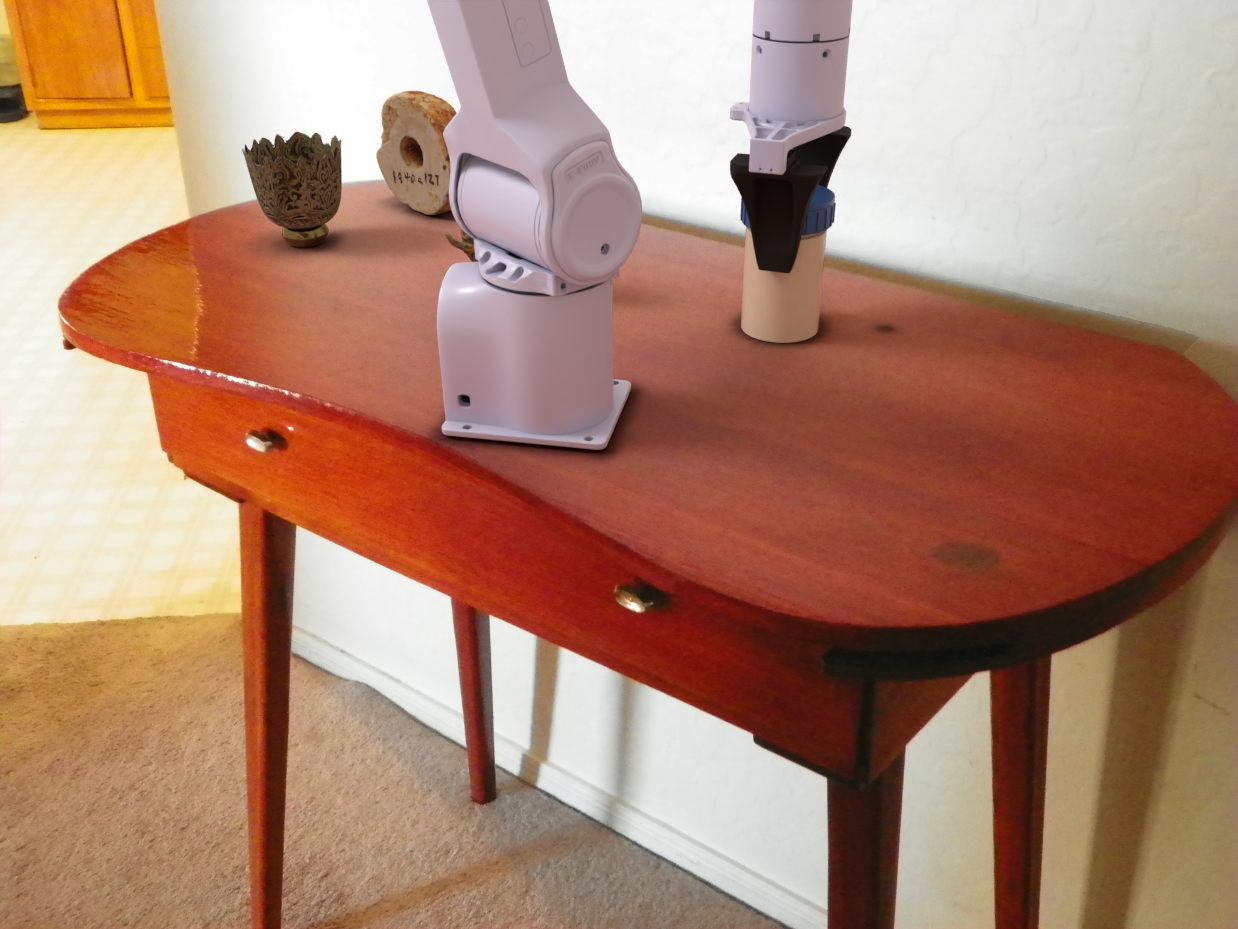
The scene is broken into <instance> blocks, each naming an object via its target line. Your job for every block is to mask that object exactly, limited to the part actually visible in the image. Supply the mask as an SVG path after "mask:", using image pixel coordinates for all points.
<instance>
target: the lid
mask: <svg viewBox="0 0 1238 929" xmlns="http://www.w3.org/2000/svg"><path fill="white" fill-rule="evenodd" d="M740 197H741V196H740ZM836 204H837V203H836V194H835V192H834V191H833V190H832V189H830V188H828V187H827V188H826V187H824V186H821V185H818V186H817V188H816V190H815V192H814V194H813V197H812V199H811V202H810V205H809V208H808V211H807V214H806V218H805V222H804V226H803V231H802V236H804V235H811V234H816V233H820V232H823V231H825V230H827V231H828V230H829V229H830V228H831V227H832V226H833V224H834V223H835V216H836V215H835V214H836V206H837V205H836ZM739 216H740V218H739V220H740V221H741V223H742V224H743V226H745V228H746V227H748V228H750V224H749V219H748V215H747V211H746V208H745V205H744V202H743V200H742V197H741V198H740V215H739Z"/></svg>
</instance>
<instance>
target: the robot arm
mask: <svg viewBox="0 0 1238 929" xmlns="http://www.w3.org/2000/svg"><path fill="white" fill-rule="evenodd" d="M853 1H854V0H753V11H752V12H753V14H752V15H753V16H752V34H751V35H752V36H751V56H750V57H751V58H750V81H749V100H748V101H749V102H748V101H747V102H746V101H745V102H744V101H739V102H735V103H734V104H733V105H732V106H731V107H730V109H729V119H730V120H732V121H739V122H744V123H745V124H746V127H747V130H748V133H749V136H750V140H749V153H741V152H740V153H739V152H737V153H736V154H735V155H734V156H733V157H732V158H731V160H730V161H729V173H730V177H731V179H732V182H733V183H734V185H735V186H736V189H737V190H738V193H739V195H740V197H742V200H743V202H744V205H745V208H746V211H747V215H748V219H749V224H750V229H751V234H752V240H753V246H754V252H755V257H756V261H757V265H758V269H759V270H763V271H772V272H780V273H790V272H791V270H792V268H793V266H794V263H795V260H796V257H797V254H798V250H799V245H800V241H801V236H802V231H803V226H804V222H805V218H806V214H807V211H808V208H809V205H810V202H811V199H812V197H813V194H814V192H815V190H816V188H817V186H818V185H821V186H824V187H826V188H828V187H829V183H830V181H831V178H832V174H833V173H834V170H835V167H836V165H837V162H838V160H839V158H840V156H841V154H842V152H843V150H844V149H845V147H846V145H847V143H848V142H849V140H850V138H851V137H852V128H851V127H850V126H846V120H847V109H846V108H845V107H844V104H845V94H846V92H845V91H846V81H847V70H848V58H849V49H850V48H849V46H850V36H851V23H852V13H853V3H854V2H853ZM426 2H427V5H428V9H429V12H430V14H431V17H432V22H433V24H434V27H435V30H436V33H437V36H438V40H439V43H440V45H441V48H442V52H443V55H444V58H445V61H446V64H447V67H448V71H449V74H450V77H451V80H452V84H453V86H454V89H455V93H456V95H457V96H456V97H457V98H458V101H459V105H460V108H459V109H458V110H457V111H456V115H455V116H454V117H453V118H452V120H451V121H450V122H449V124H448V125H447V126H446V128H445V130H444V132H443V137H444V140H445V143H446V146H447V149H448V153H449V157H450V167H451V172H450V182H449V202H450V207H451V210H450V211H451V214H452V216H453V218H454V220H455V222H456V223H457V225H458V226H459V227H460V230H461V229H462V230H463V231H464V232H465V233H466V234H467V235H469V236H470V237H472V238H474V248H475V259H476V260H478V261H479V262H472V261H461V262H455V263H453V264H451V265H450V267H449V268H448V269H447V271H446V272H445V275H444V277H443V278H442V282H441V285H440V288H439V292H438V299H437V310H436V336H437V345H438V347H437V348H438V356H439V365H440V366H439V368H440V376H441V387H442V398H443V407H444V418H445V421H444V422H443V423H442V425H441V433H442V434H443V435H445V436H448V437H458V438H469V439H479V440H489V441H490V440H491V441H500V442H509V443H522V444H532V445H541V446H553V447H562V448H563V447H564V448H571V449H572V448H574V449H582V450H583V449H584V450H592V451H593V450H594V451H601V450H604V449H606V447H607V446H608V445H609V441H610V440H611V437H612V435H613V433H614V430H615V428H616V425H617V423H618V420H619V418H620V417H621V414H622V411H623V409H624V407H625V404H626V403H627V400H628V398H629V396H630V393H631V390H632V383H631V382H630V381H628V380H625V379H616V378H614V377H615V376H614V374H615V373H614V293H613V292H614V291H613V289H614V286H613V285H614V284H613V283H614V282H613V280H615V279H617V278H619V277H620V276H621V273H620V272H621V268H622V267H623V266H624V264H625V263H626V262H627V260H628V259H629V258H630V256H631V254H632V253H633V251H634V249H635V247H636V245H637V242H638V239H639V236H640V233H641V227H642V222H643V202H642V197H641V193H640V190H639V187H638V185H637V183H636V181H635V179H634V178H633V177H632V175H631V174H630V173H629V172H628V171H627V170H626V169H625V168H624V167H623V165H622V163H621V162H620V160H618V157H617V154H616V151H615V149H614V145H613V141H612V137H611V133H610V130H609V129H608V127H607V126H606V125H605V123H604V122H603V121H602V120H601V118H600V117H599V116H598V115H597V114H596V113H595V111H593V110H592V108H591V107H590V106H589V105H588V104H587V102H585V100H584V99H583V98H582V97H581V95H580V94H578V92H577V91H576V89H575V88H574V87H573V86H572V85H571V83H570V81H569V77H568V74H567V69H566V66H565V62H564V58H563V53H562V49H561V46H560V42H559V38H558V34H557V31H556V26H555V22H554V18H553V15H552V12H551V11H552V10H551V7H550V2H549V0H426Z"/></svg>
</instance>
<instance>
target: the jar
mask: <svg viewBox="0 0 1238 929" xmlns="http://www.w3.org/2000/svg"><path fill="white" fill-rule="evenodd" d="M827 235H828V229H827V230H825V231H823V232H820V233H816V234H811V235H804V236H801V241H800V245H799V250H798V254H797V257H796V260H795V263H794V266H793V268H792V270H791V272H790V273H780V272H772V271H763V270H759V269H758V265H757V261H756V257H755V252H754V246H753V240H752V234H751V229H750V228H748V227H746V226H745V238H744V255H743V256H744V257H743V274H742V275H743V276H742V294H741V313H740V317H741V318H740V329H741V330H742V331H743V333H745V335H747V336H749V337H751V338H753V339H756V340H759V341H763V342H768V343H775V344H789V343H798V342H803V341H806V340H809V339H811V338H813V337H814V336H816V334H817V333H818V332H819V324H820V312H821V303H822V302H821V300H822V291H823V280H824V269H825V259H826V258H825V257H826V245H827Z"/></svg>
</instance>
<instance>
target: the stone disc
mask: <svg viewBox="0 0 1238 929" xmlns="http://www.w3.org/2000/svg"><path fill="white" fill-rule="evenodd" d="M456 113H457V110H455V108H454V107H453V105H451V104H450V103H449V102H448V101H447V100H445V99H443V98H442V97H438V96H437V95H435V94H431V93H430V92H429V93H428V92H425V91H421V90H405V91H401V92H400V91H399V92H398V93H395V94H393V95H391V96H389V97H388V98H387V99H386V100H385V101H384V103H383V104H382V107H381V115H380V117H381V126H382V133H381V136H380V139H381V143H380V144H381V145H380V147H379V148H378V149H377V151H376V153H375V154H376V156H375V157H376V161H377V165H378V167H379V170H380V173H381V175H382V177H383V179H384V181H385V183H386V184H387V187H388V188H389V190H391V193H392V194H393V195H394V197H395V198H396V199H397V200H398V201H399V202H401V203H403V204H404V205H407V206H408V207H410V209H412V210H414V211H416V212H417V213H421V214H423V215H426V216H427V215H428V216H434V215H442V214H443V213H446V212H449V211H452V210H451V207H450V202H449V182H450V172H451V167H450V157H449V153H448V149H447V146H446V143H445V140H444V137H443V132H444V130H445V128H446V126H447V125H448V124H449V122H450V121H451V120H452V118H453V117H454V116H455V115H456Z"/></svg>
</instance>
